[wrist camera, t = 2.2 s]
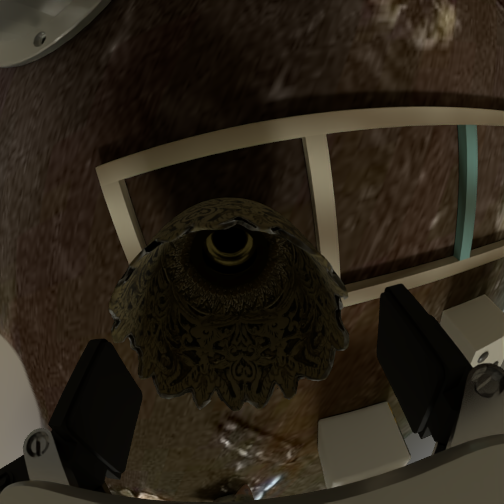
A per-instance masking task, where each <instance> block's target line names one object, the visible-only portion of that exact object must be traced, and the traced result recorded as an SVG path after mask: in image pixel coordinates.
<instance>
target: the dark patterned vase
mask: <svg viewBox="0 0 504 504" xmlns="http://www.w3.org/2000/svg"><path fill="white" fill-rule="evenodd" d="M230 227H235V228H239V229H241V230H243V231H244V233H245V243H244V245H243V247H242V248H241V249H240V250H238V251H236V252H232V253H227V252H223V251H221V250H220V249H219V248H218V247H217V246H216V245H215V242H214V235H215V232H216V230H219V229H228V228H230ZM341 298H344V300H345V299H347V298H348V292H347V289H346V287H345V285H344V284H343V282H342V280H341V279H340V278H339V276H338V275H337V274H336V272H335V271H334V270H333V268H332V265H331V264H330V263H329V261H328V260H327V259H326V258H325V257H324V256H323V255H322V254H320V253H319V252H318V251H317V250H316V248H315V247H314V246H313V245H312V244H311V243H310V242H309V241H308V240H307V239H306V238H305V237H304V236H303V235H302V234H301V232H300V231H299V230H298V229H297V228H296V227H295V226H294V225H292V224H291V223H290V222H289V221H288V220H287V219H286V218H284V217H283V216H282V215H280V214H279V213H278V212H276V211H274V210H273V209H271V208H269V207H268V206H265V205H263V204H261V203H258V202H255V201H252V200H248V199H242V198H233V197H228V198H217V199H211V200H208V201H204V202H201V203H199V204H196V205H194V206H192V207H190V208H188V209H186V210H185V211H183V212H182V213H180V214H179V215H177V216H176V217H175V218H174V219H172V220H171V221H170V222H169V223H168V224H167V225H166V226H165V227H164V228H163V229H162V230H161V231H160V232H159V233H158V234H157V235H156V236H155V237H154V238H153V239H152V240H151V241H150V242H149V244H148V245H147V246H146V247H145V248H144V249H143V250H142V251H141V252H140V253H139V254H138V255H137V256H136V257H135V258H134V259H133V260H132V262H131V263H130V264H129V268H128V269H127V271H126V272H125V274H124V275H123V277H122V278H121V279H120V280H119V282H118V284H117V285H116V287H115V290H114V292H113V294H112V297H111V299H110V303H109V312H110V313H111V314H112V317H113V319H114V321H115V322H114V324H113V326H112V329H111V331H112V338H113V342H114V343H119V342H123V341H124V340H125V338H126V337H129V339H130V344H131V345H130V347H131V348H132V349H133V350H135V351H136V352H137V353H138V354H139V356H138V360H139V367H138V375H139V377H140V379H146V378H149V377H151V376H152V378H153V382H154V385H155V387H156V389H157V393H158V394H159V395H160V397H161V398H165V399H170V398H173V397H178V396H181V395H184V394H185V393H189V392H192V395H193V400H194V402H195V403H196V406H197V408H198V409H202V408H203V407H205V406H206V404H208V403H209V402H210V401H211V400H210V398H211V396H212V394H213V393H214V391H217V394H218V396H219V398H220V400H221V401H224V403H225V404H226V405H227V406H228V407H229V408H230V409H231V410H233V411H239V410H240V409H241V408H242V406H243V404H244V402H246V401H247V400H248V402H249V403H250V404H252V405H253V406H255V407H256V408H257V409H262V408H263V407H264V406H265V405H266V404H267V403H268V401H269V399H270V397H271V396H272V393H273V390H274V386H275V384H277V385H278V386H279V387H280V389H281V391H282V392H283V394H284V397H285V398H287V399H291V398H292V397H293V396H294V395H295V394H296V391H297V386H298V381H299V379H303V378H301V377H306V378H308V379H309V380H313V381H321V380H325V379H326V378H327V377H328V375H329V373H330V371H331V369H332V366H333V362H334V357H335V352H336V350H337V351H341V350H342V351H343V350H345V349H346V348H348V345H349V334H348V332H347V330H346V329H345V327H344V325H343V323H342V320H341V309H342V308H343V304H342V300H341ZM277 389H278V388H277ZM185 391H187V392H185ZM246 399H247V400H246Z"/></svg>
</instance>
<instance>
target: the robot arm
mask: <svg viewBox="0 0 504 504" xmlns="http://www.w3.org/2000/svg"><path fill="white" fill-rule="evenodd" d="M110 1H111V0H0V67H6V68H9V67H16V66H22V65H25V64H27V63H30V62H33V61H36V60H38V59H40V58H42V57H43V56H45V55H47V54H49V53H51V52H53V51H54V50H56V49H57V48H59V47H60V46H61V45H63V44H64V43H66V42H67V41H69V40H70V39H72V38H73V37H74V36H75V35H76V34H77V33H78V32H80V31H81V30H82V29H83V28H84V27H86V26H87V25H88V24H89V23H90V22H91V21H92V20H93V19H94V18H95V17H96V16H97V15H98V14H99V13H100V12H101V11H102V10H103V9H104V8H105V7H106V6H107V5H108V4H109V3H110ZM377 358H378V360H379V363H380V364H381V366H382V368H383V370H384V372H385V374H386V376H387V379H388V381H389V383H390V385H391V387H392V389H393V391H394V393H395V395H396V397H397V399H398V401H399V403H400V405H401V408H402V410H403V412H404V414H405V416H406V418H407V421H408V423H409V425H410V427H411V429H412V431H413V432H414V433H418V434H419V436H420V438H421V439H423V438H426V437H428V436H430V435H432V437H433V439H434V441H436V444H435V447H434V450H433V453H432V455H431V456H429V457H426V458H424V459H421V460H419V461H416V462H414V463H411V464H409V465H406V466H403V467H401V468H398V469H395V470H392V471H389V472H386V473H383V474H380V475H377V476H373V477H370V478H367V479H364V480H360V481H357V482H353V483H349V484H345V485H342V486H337V487H333V488H329V489H324V490H320V491H315V492H310V493H304V494H298V495H292V496H285V497H278V498H270V499H261V500H250V501H235V502H176V501H161V500H150V499H141V498H133V497H126V496H119V495H113V494H112V493H111V492H110V490H109V488H108V486H107V485H106V483H105V481H104V480H105V476H106V477H108V478H113V479H119V480H120V478H121V473H123V472H124V471H125V468H126V464H127V459H128V455H129V451H130V446H131V442H132V438H133V434H134V430H135V426H136V422H137V418H138V414H139V410H140V406H141V402H142V392H141V390H140V388H139V387H138V385H137V384H136V382H135V381H134V379H133V378H132V376H131V374H130V373H129V371H128V370H127V368H126V366H125V365H124V363H123V362H122V360H121V358H120V357H119V355H118V353H117V352H116V350H115V348H114V346H113V345H112V343H110V342H108V341H107V340H106V339H94V340H90V341H89V343H88V345H87V346H86V348H85V350H84V352H83V354H82V356H81V358H80V360H79V361H78V363H77V365H76V367H75V369H74V371H73V373H72V375H71V377H70V379H69V381H68V383H67V385H66V387H65V389H64V391H63V393H62V395H61V397H60V400H59V402H58V404H57V406H56V408H55V410H54V412H53V415H52V417H51V419H50V421H49V424H48V425H49V426H50V427H51V428H52V431H51V432H50V431H49V430H47V429H44V428H39V429H36V430H34V431H32V432H31V433H30V434H29V435H28V437H27V438H26V439H25V441H24V445H23V452H24V455H23V456H21V457H19V458H18V459H16V460H14V461H13V462H11V463H9V464H8V465H6V466H4V467H3V468H1V469H0V504H504V370H503V369H502V368H501V367H499V366H498V365H495V364H492V363H482V364H478V365H477V366H475V367H472V365H471V364H470V363H469V361H468V360H467V359H466V357H465V356H464V355H463V353H462V352H461V351H460V349H459V348H458V347H457V345H456V344H455V343H454V342H453V340H452V339H451V338H450V337H449V335H448V334H447V333H446V332H445V330H444V329H443V328H442V327H441V325H440V324H439V323H438V322H437V320H436V319H435V318H434V317H433V316H432V315H429V314H428V313H427V312H426V310H425V309H424V308H423V307H422V306H421V304H420V303H419V302H418V301H417V300H416V299H415V297H414V296H413V295H412V294H411V293H410V292H409V290H408V289H407V288H406V287H405V286H404V285H403V284H401V283H400V284H396V285H393V286H389V287H386V288H385V290H384V292H383V293H381V295H380V310H379V327H378V340H377Z"/></svg>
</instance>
